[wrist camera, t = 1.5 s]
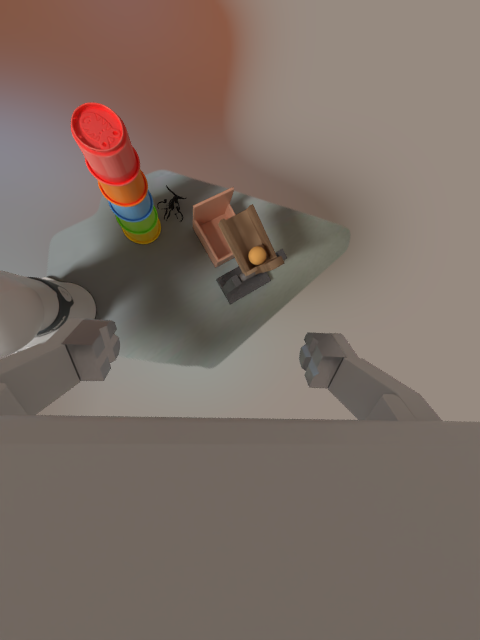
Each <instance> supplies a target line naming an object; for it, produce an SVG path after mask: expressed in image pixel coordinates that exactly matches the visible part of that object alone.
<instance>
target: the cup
mask: <svg viewBox="0 0 480 640" xmlns="http://www.w3.org/2000/svg"><path fill="white" fill-rule="evenodd" d="M233 191H234V188H233V187H232V188H230V189H228V190H226V191H223V192H221V193H219V194H217V195H215V196H213V197H211V198H208V199H206V200H204V201H202V202H200V203H198V204H196V205H193V229H194V231H195V233H196V235H197V236H198V238H199V240H200V242H201V243H202V245H203V247H204V249H205V250H206V252H207V254H208V256H209V257H210V259H211V261H212V263H213V264H214V266H215V268H216V267H218V266H220V265H222V264H223V263H225V262H227V261H229V260H231V259H233V258H235V257H234V255H233V253H232V251H231V249H230V247H229V245H228V243H227V241H226V239H225V237H224V235H223V233H222V231H221V229H220V227H219V225H218V224H219V222H220V220H222V219H225V220H226V219H228V218H230V217H232V216H234V215H235V213H234V211H233V209H232V207H231V206H230V201H231V198H232V195H233Z"/></svg>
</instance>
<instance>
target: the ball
mask: <svg viewBox="0 0 480 640" xmlns="http://www.w3.org/2000/svg"><path fill="white" fill-rule="evenodd" d="M248 257H249V260H250V262H251V263H252V264H254V265H260V264H262V263H263V262H264V261H265V259H266V252H265V250H264V249H263V248H262V247H259V246H256V247H253V248H252V249H251V250H250V251H249V255H248Z"/></svg>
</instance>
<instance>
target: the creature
mask: <svg viewBox="0 0 480 640" xmlns="http://www.w3.org/2000/svg"><path fill="white" fill-rule="evenodd" d="M166 187H167V185H166ZM167 188H168V187H167ZM168 190H169V191H170V192H172V191H171V190H170V189H169V188H168ZM172 193H173V194H174V195H175V196H174V197H173V199H171V200H172V201H171V200H170V201H171V203H170V202H169V203H168V204H170V205H168V206H169V209H170V208H171V210H174V202H175V203H178V199H186V198H182V197H179V196H177V195H176V194H175V193H174V192H172ZM164 201H165V202H163V201H162V202H159V203H166V202H167V200H166V199H165V200H164ZM159 203H158V204H159ZM166 206H167V205H166ZM178 206H179V203H178ZM178 206H177V207H176V209H177V210H178ZM157 207H158V205H157ZM158 209H159V208H158ZM167 209H168V208H166V213H165V215H164V219H165V216H166V214H167ZM179 209H180V207H179ZM171 210H170V211H171ZM170 211H169V215H168V217H169V216H170ZM178 213H181V212H180V211H179V210H178ZM175 215H176V214H175ZM181 215H182V213H181ZM168 217H167V218H168ZM182 217H183V215H182ZM177 219H178V218H177ZM182 220H183V218H182ZM182 220H181V221H182ZM166 221H167V220H166ZM181 221H180V222H181Z"/></svg>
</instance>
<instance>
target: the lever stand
mask: <svg viewBox="0 0 480 640" xmlns="http://www.w3.org/2000/svg"><path fill="white" fill-rule="evenodd" d="M276 256H277V257H279V256H281V257H282V259H283V260H285V259H286V258H287V257H286V255H285V253H284V251H283V249H281V250H280V251H278V252H276ZM240 274H242V271H241V269H240V267H237V268H236V269H234V270H232V271H230V272H228V273H226V274H225V275H223V276H221V277H219V278H217V279H216V281H217V282H218V284H219V286H220V288H221V289H222V291H223V293H224V295H225V296H226V298H227V300H228V302H229V303H230V304H231V303H233V302H235V301H237V300H238V299H240V298H242V297H244V296H245V295H247V294H249V293H250V292H252V291H254V290H256V289H257V288H259V287H261V286H263V285H264V284H266V283H268V282H269V281H271V280H270V278H269V276H268V274H267V272H263V273H259V274H256V275H254V276H252V277H250V278H248V279H247V280H245V281H243V282H241V281H240V280H239V278H238V275H240Z"/></svg>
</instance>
